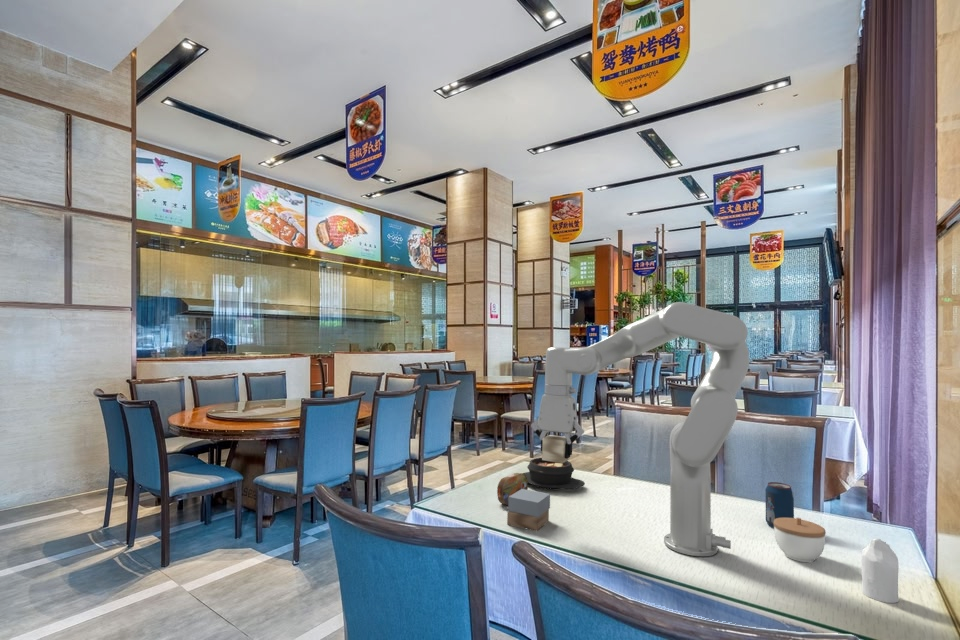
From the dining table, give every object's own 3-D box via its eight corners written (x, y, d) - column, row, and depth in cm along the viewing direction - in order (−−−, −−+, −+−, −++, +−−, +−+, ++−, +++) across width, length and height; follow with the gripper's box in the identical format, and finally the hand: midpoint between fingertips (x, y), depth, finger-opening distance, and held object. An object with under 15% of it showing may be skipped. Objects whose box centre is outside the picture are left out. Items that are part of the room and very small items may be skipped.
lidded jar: (764, 547, 124) (764, 510, 125) (807, 548, 124) (806, 511, 124) (790, 566, 113) (789, 525, 114) (836, 567, 113) (836, 527, 114)
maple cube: (569, 459, 136) (570, 437, 136) (562, 463, 130) (563, 440, 131) (549, 455, 138) (550, 434, 139) (542, 459, 133) (542, 438, 134)
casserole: (507, 485, 174) (508, 461, 175) (530, 474, 190) (531, 452, 190) (573, 498, 161) (573, 472, 161) (592, 485, 177) (592, 462, 177)
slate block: (549, 508, 140) (550, 494, 140) (537, 517, 132) (538, 502, 132) (521, 502, 144) (521, 488, 144) (508, 511, 136) (508, 496, 136)
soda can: (796, 527, 138) (795, 485, 139) (791, 533, 133) (790, 490, 134) (768, 521, 143) (768, 480, 144) (763, 527, 138) (762, 484, 139)
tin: (503, 508, 149) (503, 480, 150) (495, 506, 151) (495, 478, 152) (528, 496, 161) (529, 471, 162) (520, 494, 163) (521, 469, 164)
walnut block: (548, 522, 139) (548, 508, 140) (537, 532, 131) (537, 517, 132) (520, 516, 144) (520, 502, 144) (507, 525, 136) (507, 511, 136)
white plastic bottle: (891, 535, 102) (903, 545, 97) (892, 593, 102) (904, 606, 96) (856, 530, 104) (867, 540, 99) (857, 587, 104) (868, 600, 98)
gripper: (592, 392, 134) (590, 458, 134) (534, 387, 143) (532, 449, 142) (584, 394, 128) (582, 463, 127) (524, 389, 136) (522, 453, 135)
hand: (556, 455), depth 134 cm, fingers closed on maple cube, 6 cm apart
